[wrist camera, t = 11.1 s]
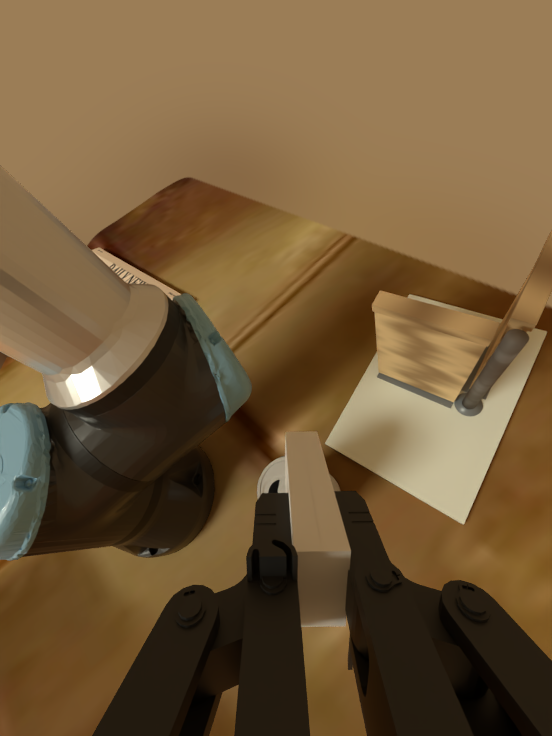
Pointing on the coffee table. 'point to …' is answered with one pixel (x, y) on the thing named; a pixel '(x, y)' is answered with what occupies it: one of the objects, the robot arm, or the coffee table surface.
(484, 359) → the panel
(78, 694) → the coffee table surface
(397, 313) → the fence panel
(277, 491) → the beverage can
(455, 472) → the mat
